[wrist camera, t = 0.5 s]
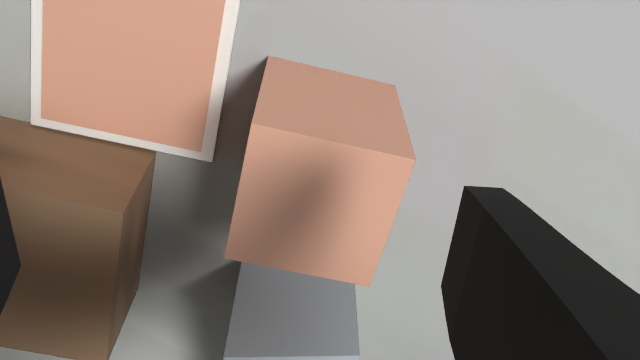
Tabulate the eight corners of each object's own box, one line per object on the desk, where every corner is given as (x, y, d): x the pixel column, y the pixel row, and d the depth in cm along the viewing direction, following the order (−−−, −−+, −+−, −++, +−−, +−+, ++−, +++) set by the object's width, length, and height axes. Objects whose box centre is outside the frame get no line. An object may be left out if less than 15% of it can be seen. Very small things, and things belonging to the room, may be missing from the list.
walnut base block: (138, 284, 23) (106, 365, 19) (-25, 253, 22) (-90, 330, 19) (157, 148, 20) (123, 212, 17) (-30, 106, 19) (-107, 165, 16)
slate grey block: (352, 334, 24) (358, 444, 20) (251, 336, 24) (235, 446, 20) (352, 253, 22) (360, 355, 18) (243, 254, 22) (223, 357, 18)
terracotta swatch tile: (212, 159, 20) (210, 165, 20) (33, 121, 19) (28, 126, 19) (243, -16, 17) (242, -13, 17) (34, -67, 17) (28, -65, 16)
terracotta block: (360, 192, 21) (370, 286, 16) (245, 167, 20) (223, 258, 16) (394, 85, 19) (416, 159, 14) (268, 55, 18) (251, 123, 14)
